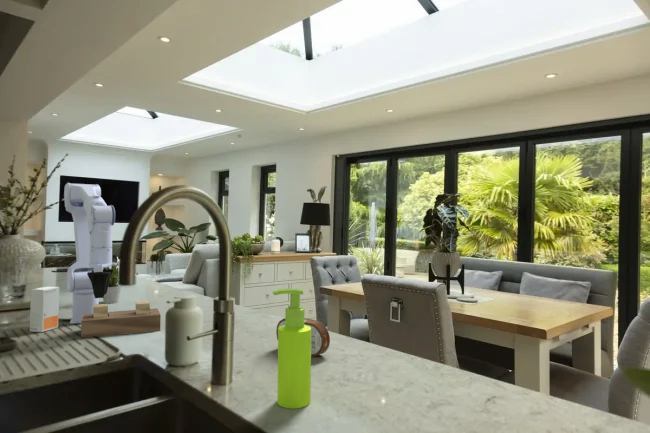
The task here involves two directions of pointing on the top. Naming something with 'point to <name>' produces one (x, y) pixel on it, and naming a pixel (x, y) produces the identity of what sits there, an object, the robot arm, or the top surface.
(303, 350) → the soap dispenser
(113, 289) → the house plant
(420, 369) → the top surface
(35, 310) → the skincare box
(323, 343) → the tin
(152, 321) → the walnut block
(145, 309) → the far maple peg
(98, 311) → the near maple peg
